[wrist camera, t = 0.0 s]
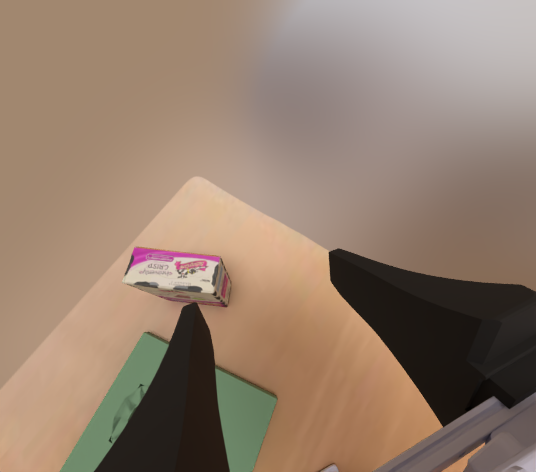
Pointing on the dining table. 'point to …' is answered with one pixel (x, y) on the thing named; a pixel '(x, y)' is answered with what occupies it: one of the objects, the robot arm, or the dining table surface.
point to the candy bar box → (179, 276)
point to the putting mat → (134, 388)
